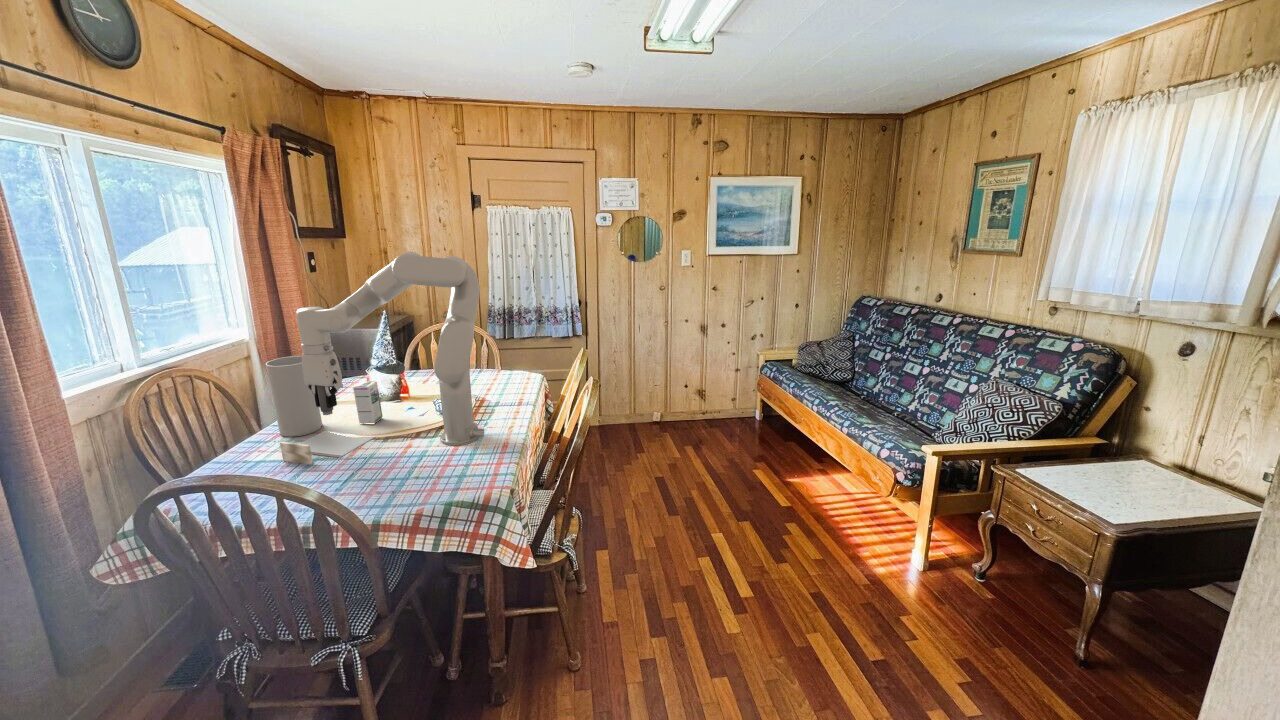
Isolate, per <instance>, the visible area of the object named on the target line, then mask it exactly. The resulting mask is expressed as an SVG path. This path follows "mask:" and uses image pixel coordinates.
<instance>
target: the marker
mask: <svg viewBox="0 0 1280 720" xmlns="http://www.w3.org/2000/svg"><path fill="white" fill-rule="evenodd" d="M317 391H318V397H319V404H320V407H319V408H320V413H322V415H323V416H330V415H332V414H334V413H333V410H334V407H332V408H327V403H326V396H327V393H326V390H325V386H319V385H317Z"/></svg>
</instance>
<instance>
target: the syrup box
mask: <svg viewBox="0 0 1280 720" xmlns="http://www.w3.org/2000/svg"><path fill="white" fill-rule="evenodd" d="M352 389H353V395H354V399H355V400H354V401H355V405H356V406H355V407H356V411H357V416H358V424H360V423H375V422H377V421H378V420H380V419H381V418H382V417H383V411H382V406H381V400H380V399H381V398H380V392H379V386H378V382H377V381H372V380H371V381H370V380H369V381H361V382H359V383H358V384H356V385H354V386H353V387H352ZM383 418H384V417H383ZM381 420H382V419H381ZM381 420H380V421H381ZM377 423H378V422H377Z"/></svg>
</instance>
